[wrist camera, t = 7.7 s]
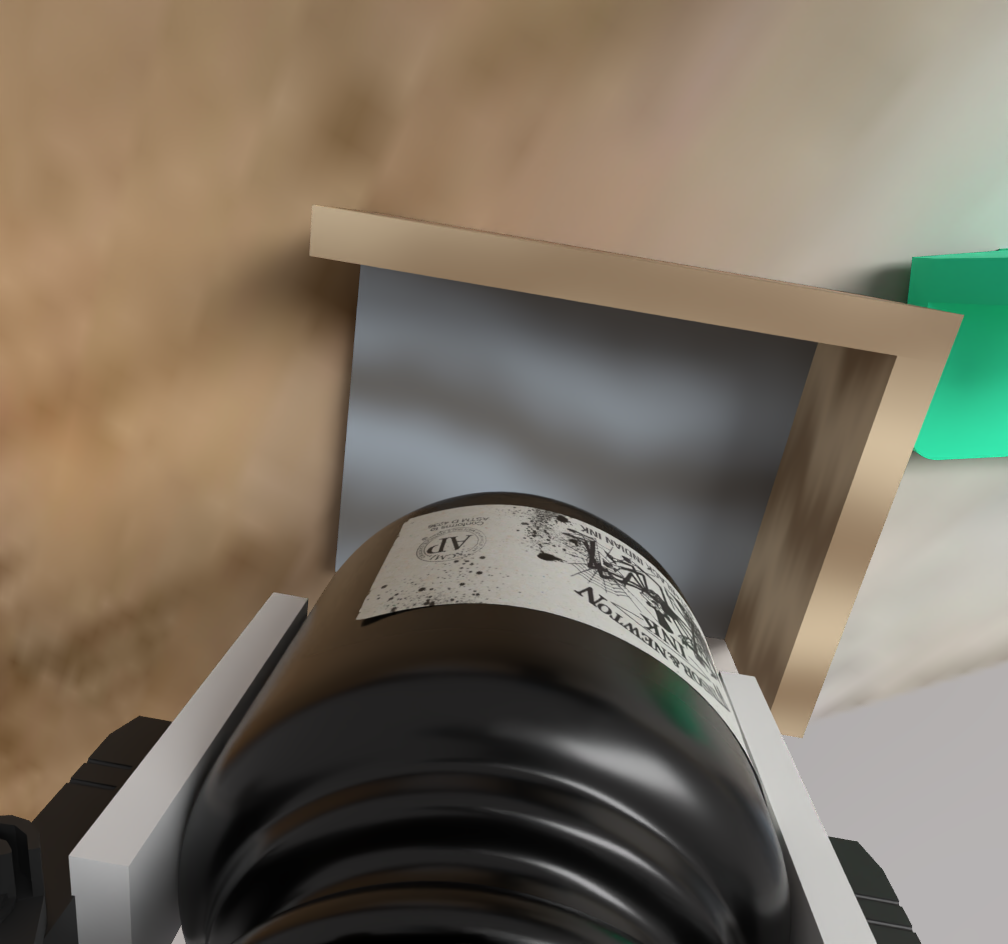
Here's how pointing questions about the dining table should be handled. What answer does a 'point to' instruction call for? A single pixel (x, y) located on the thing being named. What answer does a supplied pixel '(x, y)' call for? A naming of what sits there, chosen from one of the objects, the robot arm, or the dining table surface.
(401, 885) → the ink bottle
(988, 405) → the camera mount
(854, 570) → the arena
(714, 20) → the dining table surface
